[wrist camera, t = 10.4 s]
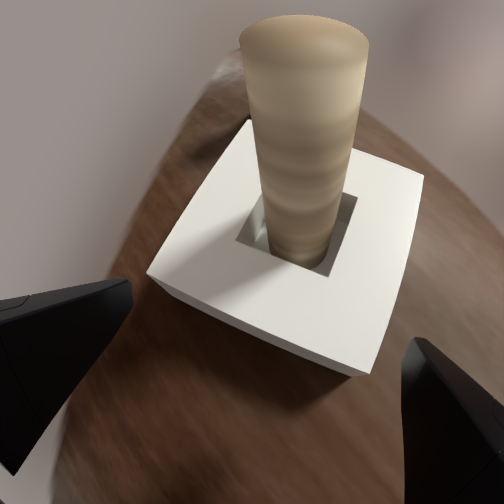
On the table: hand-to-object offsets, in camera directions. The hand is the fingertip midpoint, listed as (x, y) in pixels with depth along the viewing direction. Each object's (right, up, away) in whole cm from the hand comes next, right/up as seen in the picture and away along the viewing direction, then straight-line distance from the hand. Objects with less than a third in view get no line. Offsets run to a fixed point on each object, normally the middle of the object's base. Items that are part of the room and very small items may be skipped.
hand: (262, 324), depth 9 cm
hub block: (+3, +2, +11) cm, 11 cm away
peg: (+3, +3, +10) cm, 10 cm away
